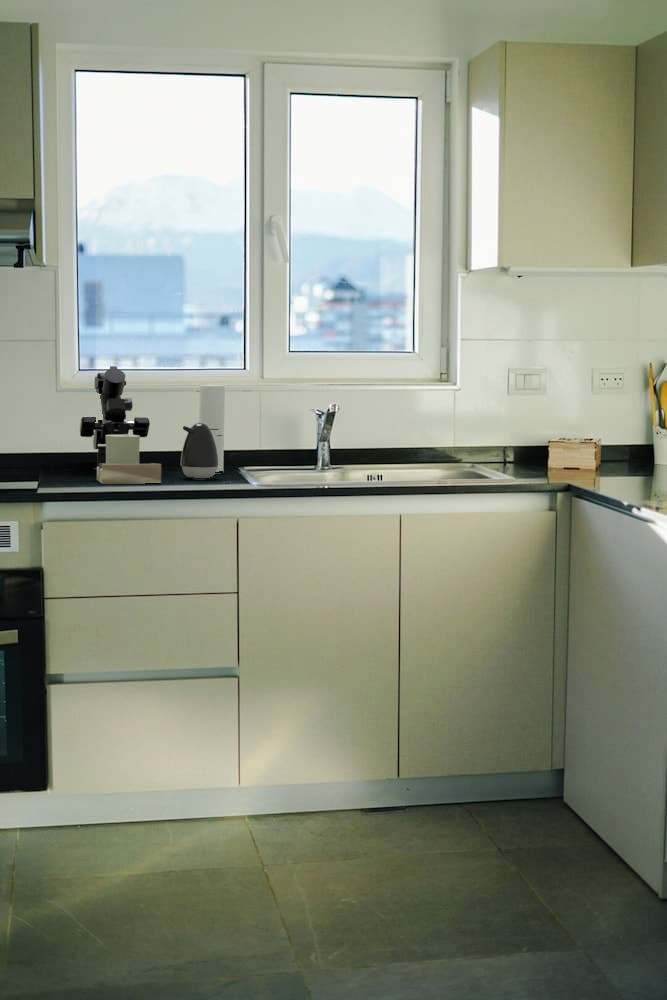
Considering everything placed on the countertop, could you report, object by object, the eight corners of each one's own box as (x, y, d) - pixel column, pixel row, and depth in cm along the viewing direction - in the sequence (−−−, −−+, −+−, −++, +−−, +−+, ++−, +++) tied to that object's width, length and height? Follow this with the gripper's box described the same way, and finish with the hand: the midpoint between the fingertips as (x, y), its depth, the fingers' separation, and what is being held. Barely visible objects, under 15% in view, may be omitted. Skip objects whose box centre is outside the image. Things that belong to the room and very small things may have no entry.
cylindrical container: (195, 471, 356) (196, 385, 353) (218, 471, 359) (219, 385, 356) (203, 473, 349) (204, 385, 346) (226, 473, 352) (228, 386, 349)
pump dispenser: (172, 477, 334) (173, 422, 332) (204, 476, 341) (205, 421, 339) (192, 481, 326) (193, 424, 325) (225, 479, 333) (226, 423, 331)
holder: (96, 480, 322) (96, 461, 321) (153, 479, 327) (153, 461, 326) (102, 484, 312) (102, 464, 311) (161, 483, 317) (161, 464, 316)
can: (115, 480, 322) (116, 435, 321) (98, 477, 329) (98, 433, 328) (146, 479, 328) (146, 434, 327) (128, 476, 335) (129, 432, 334)
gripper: (81, 387, 336) (86, 429, 327) (148, 388, 342) (155, 430, 333) (77, 415, 344) (82, 457, 335) (143, 415, 350) (150, 457, 341)
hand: (118, 449), depth 335 cm, fingers closed
